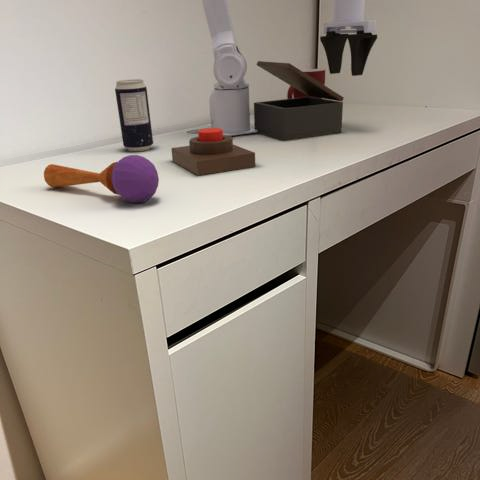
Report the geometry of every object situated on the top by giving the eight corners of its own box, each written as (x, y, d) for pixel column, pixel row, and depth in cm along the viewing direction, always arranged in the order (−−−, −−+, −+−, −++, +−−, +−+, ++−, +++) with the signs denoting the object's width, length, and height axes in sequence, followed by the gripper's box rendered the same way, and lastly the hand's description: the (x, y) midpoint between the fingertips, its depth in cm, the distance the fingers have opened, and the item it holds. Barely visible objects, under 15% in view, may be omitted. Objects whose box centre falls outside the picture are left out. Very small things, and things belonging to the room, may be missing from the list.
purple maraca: (68, 154, 77) (167, 154, 66) (72, 195, 78) (169, 201, 68) (33, 154, 72) (133, 155, 61) (38, 197, 74) (136, 205, 63)
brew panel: (172, 161, 88) (169, 137, 86) (225, 153, 91) (223, 130, 89) (197, 175, 78) (195, 148, 76) (255, 166, 82) (254, 140, 80)
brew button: (195, 141, 84) (194, 129, 83) (217, 138, 85) (216, 127, 84) (204, 145, 81) (203, 133, 80) (227, 141, 82) (226, 130, 81)
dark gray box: (283, 140, 99) (283, 108, 96) (254, 131, 109) (253, 102, 106) (341, 132, 104) (343, 102, 101) (308, 124, 114) (309, 96, 111)
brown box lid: (287, 67, 93) (289, 63, 93) (256, 64, 103) (257, 60, 103) (342, 101, 101) (344, 97, 101) (308, 96, 111) (309, 92, 111)
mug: (304, 120, 120) (305, 73, 115) (278, 117, 125) (277, 72, 120) (330, 113, 126) (332, 69, 121) (304, 111, 131) (304, 68, 126)
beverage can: (159, 146, 99) (151, 79, 93) (142, 152, 95) (133, 82, 89) (135, 145, 101) (126, 79, 95) (118, 151, 97) (107, 82, 91)
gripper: (392, -9, 91) (385, 74, 98) (345, -4, 103) (341, 71, 110) (360, -9, 89) (354, 77, 96) (315, -3, 100) (313, 73, 107)
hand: (345, 74), depth 102 cm, fingers open, 7 cm apart
